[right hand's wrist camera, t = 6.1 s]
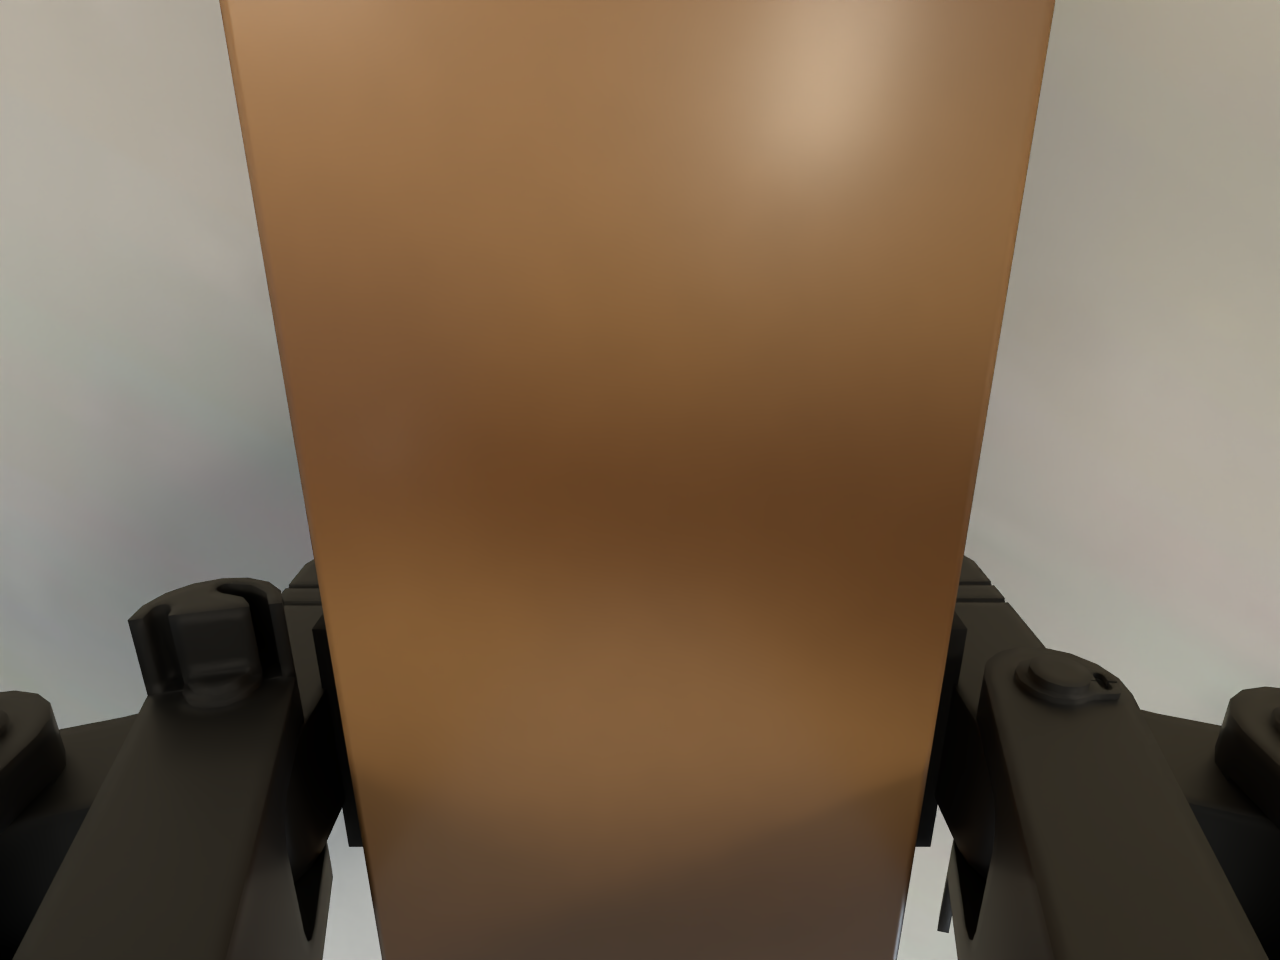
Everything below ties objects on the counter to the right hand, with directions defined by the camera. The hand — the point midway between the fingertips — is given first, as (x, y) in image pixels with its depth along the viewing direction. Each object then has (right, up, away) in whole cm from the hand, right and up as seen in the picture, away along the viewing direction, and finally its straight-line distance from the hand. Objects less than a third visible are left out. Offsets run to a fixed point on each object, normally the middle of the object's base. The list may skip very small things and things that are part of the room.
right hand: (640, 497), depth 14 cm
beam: (0, +19, -7) cm, 20 cm away
